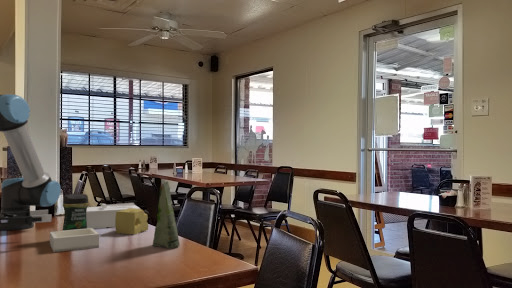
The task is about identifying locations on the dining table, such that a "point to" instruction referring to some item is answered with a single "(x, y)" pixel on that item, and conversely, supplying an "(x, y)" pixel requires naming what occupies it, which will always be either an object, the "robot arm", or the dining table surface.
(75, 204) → the coffee jar
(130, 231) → the cheese
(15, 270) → the dining table surface
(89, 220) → the tissue box
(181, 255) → the dining table surface
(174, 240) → the pouch
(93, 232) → the tray
